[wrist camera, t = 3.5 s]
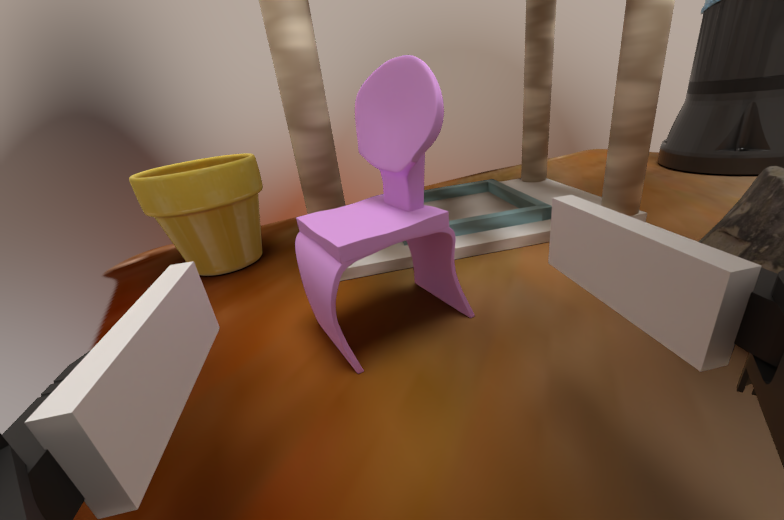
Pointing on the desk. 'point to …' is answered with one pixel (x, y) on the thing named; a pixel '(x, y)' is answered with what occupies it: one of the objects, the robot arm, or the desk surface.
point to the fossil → (755, 223)
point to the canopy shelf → (533, 190)
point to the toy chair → (385, 198)
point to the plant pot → (207, 209)
